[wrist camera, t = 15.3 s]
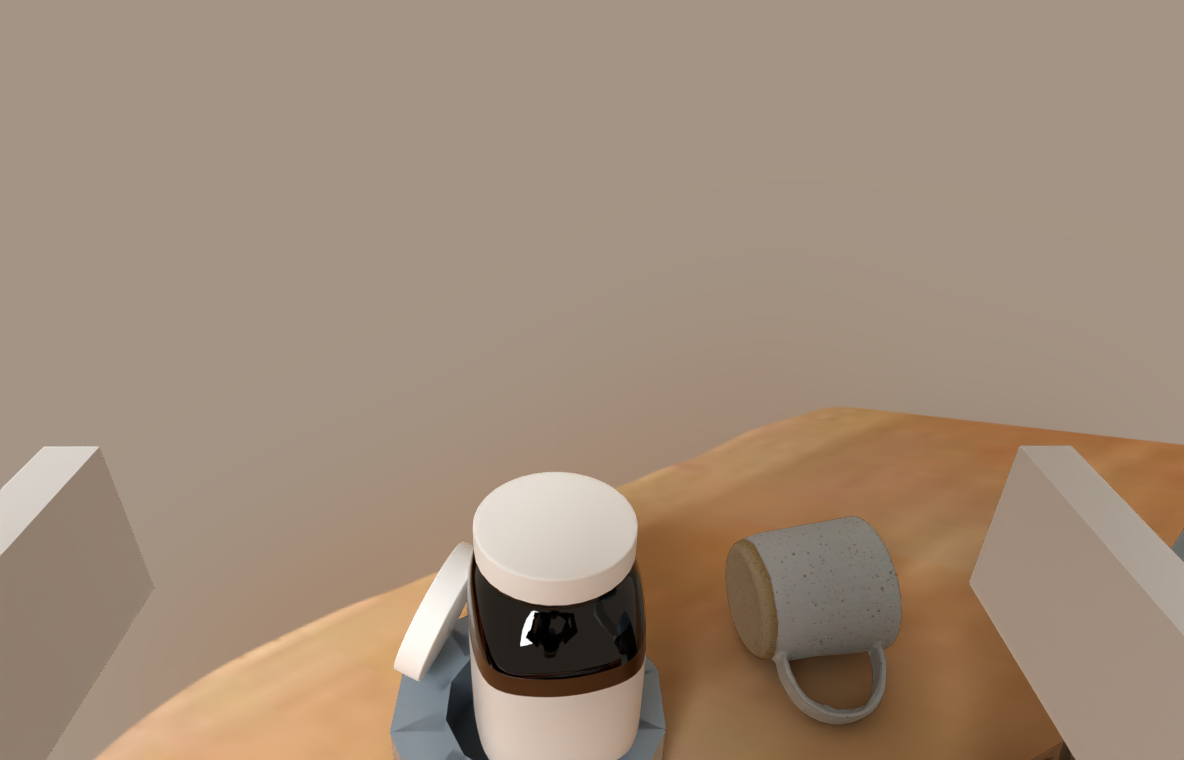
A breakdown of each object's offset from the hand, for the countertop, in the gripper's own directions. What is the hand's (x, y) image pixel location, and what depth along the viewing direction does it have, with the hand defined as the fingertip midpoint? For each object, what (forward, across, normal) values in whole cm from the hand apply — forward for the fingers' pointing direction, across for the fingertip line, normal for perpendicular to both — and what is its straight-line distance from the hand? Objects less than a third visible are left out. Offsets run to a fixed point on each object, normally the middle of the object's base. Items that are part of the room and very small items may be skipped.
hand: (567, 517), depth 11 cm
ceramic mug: (+22, +14, -30) cm, 40 cm away
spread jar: (+16, -3, -25) cm, 30 cm away
